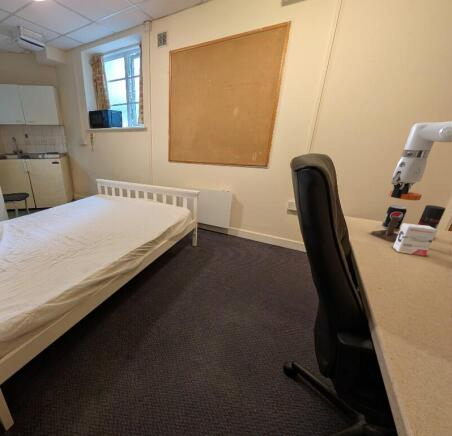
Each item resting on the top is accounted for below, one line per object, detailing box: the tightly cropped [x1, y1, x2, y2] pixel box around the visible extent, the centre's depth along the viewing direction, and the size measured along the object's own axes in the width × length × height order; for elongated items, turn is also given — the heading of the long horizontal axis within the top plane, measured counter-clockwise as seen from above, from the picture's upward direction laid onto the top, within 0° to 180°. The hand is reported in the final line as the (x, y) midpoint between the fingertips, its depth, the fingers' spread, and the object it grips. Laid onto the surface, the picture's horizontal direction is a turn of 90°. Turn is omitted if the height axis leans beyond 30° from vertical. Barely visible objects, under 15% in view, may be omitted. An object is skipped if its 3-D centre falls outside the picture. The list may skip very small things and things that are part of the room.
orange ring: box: [388, 190, 423, 201], centre depth 98 cm, size 10×10×2 cm
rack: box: [370, 216, 400, 243], centre depth 105 cm, size 9×9×10 cm
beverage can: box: [381, 204, 408, 231], centre depth 114 cm, size 7×7×12 cm
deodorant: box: [417, 204, 446, 230], centre depth 104 cm, size 6×6×15 cm
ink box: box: [392, 222, 438, 257], centre depth 91 cm, size 8×5×12 cm, turn 66°
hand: (398, 197), depth 98 cm, fingers closed on orange ring, 2 cm apart
